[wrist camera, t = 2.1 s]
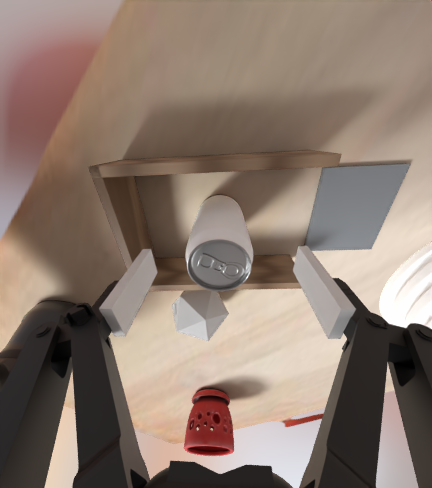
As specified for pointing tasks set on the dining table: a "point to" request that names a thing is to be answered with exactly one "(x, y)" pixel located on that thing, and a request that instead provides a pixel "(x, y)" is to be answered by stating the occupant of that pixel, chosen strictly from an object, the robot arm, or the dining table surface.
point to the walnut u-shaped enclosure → (123, 171)
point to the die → (199, 313)
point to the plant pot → (210, 425)
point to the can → (219, 246)
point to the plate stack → (410, 291)
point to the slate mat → (352, 205)
